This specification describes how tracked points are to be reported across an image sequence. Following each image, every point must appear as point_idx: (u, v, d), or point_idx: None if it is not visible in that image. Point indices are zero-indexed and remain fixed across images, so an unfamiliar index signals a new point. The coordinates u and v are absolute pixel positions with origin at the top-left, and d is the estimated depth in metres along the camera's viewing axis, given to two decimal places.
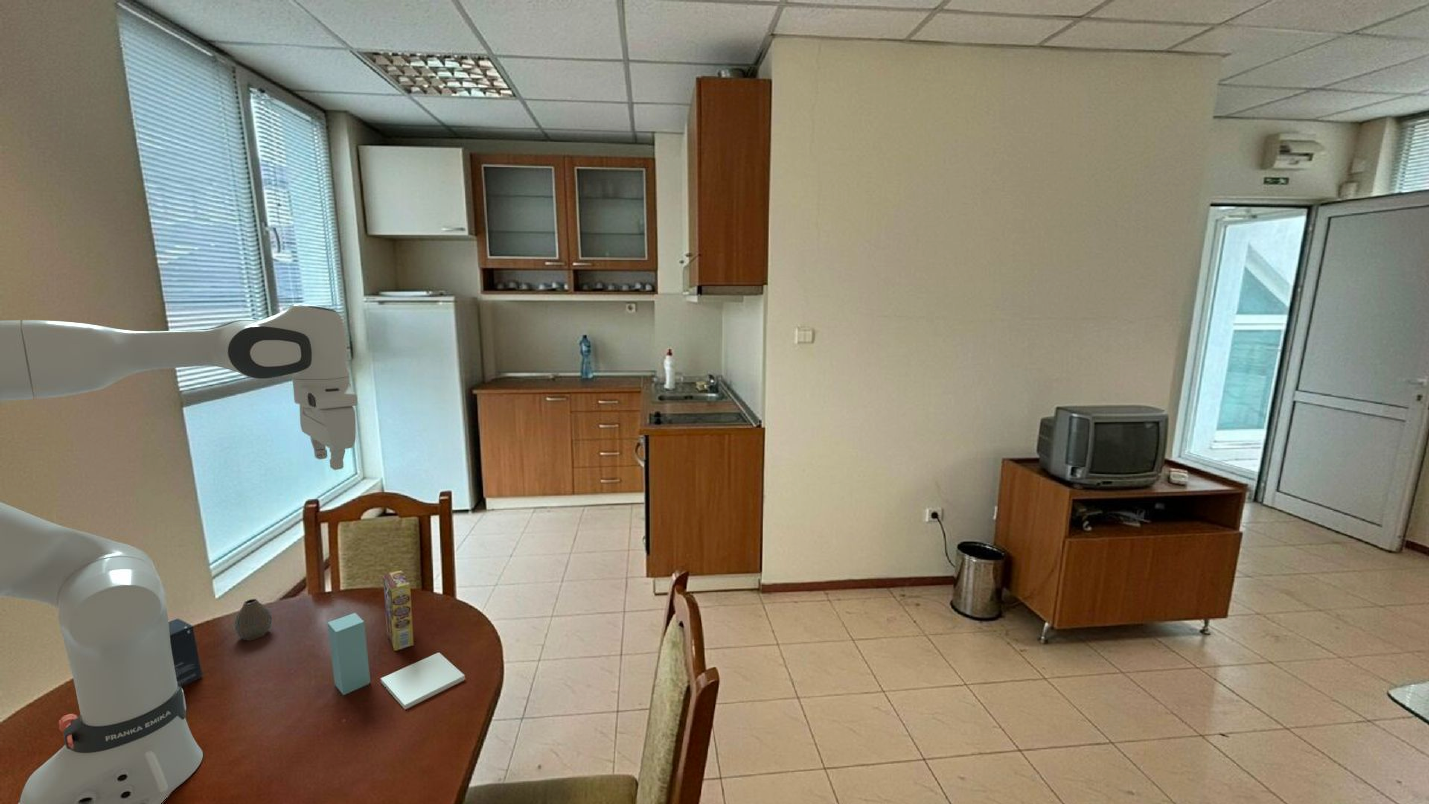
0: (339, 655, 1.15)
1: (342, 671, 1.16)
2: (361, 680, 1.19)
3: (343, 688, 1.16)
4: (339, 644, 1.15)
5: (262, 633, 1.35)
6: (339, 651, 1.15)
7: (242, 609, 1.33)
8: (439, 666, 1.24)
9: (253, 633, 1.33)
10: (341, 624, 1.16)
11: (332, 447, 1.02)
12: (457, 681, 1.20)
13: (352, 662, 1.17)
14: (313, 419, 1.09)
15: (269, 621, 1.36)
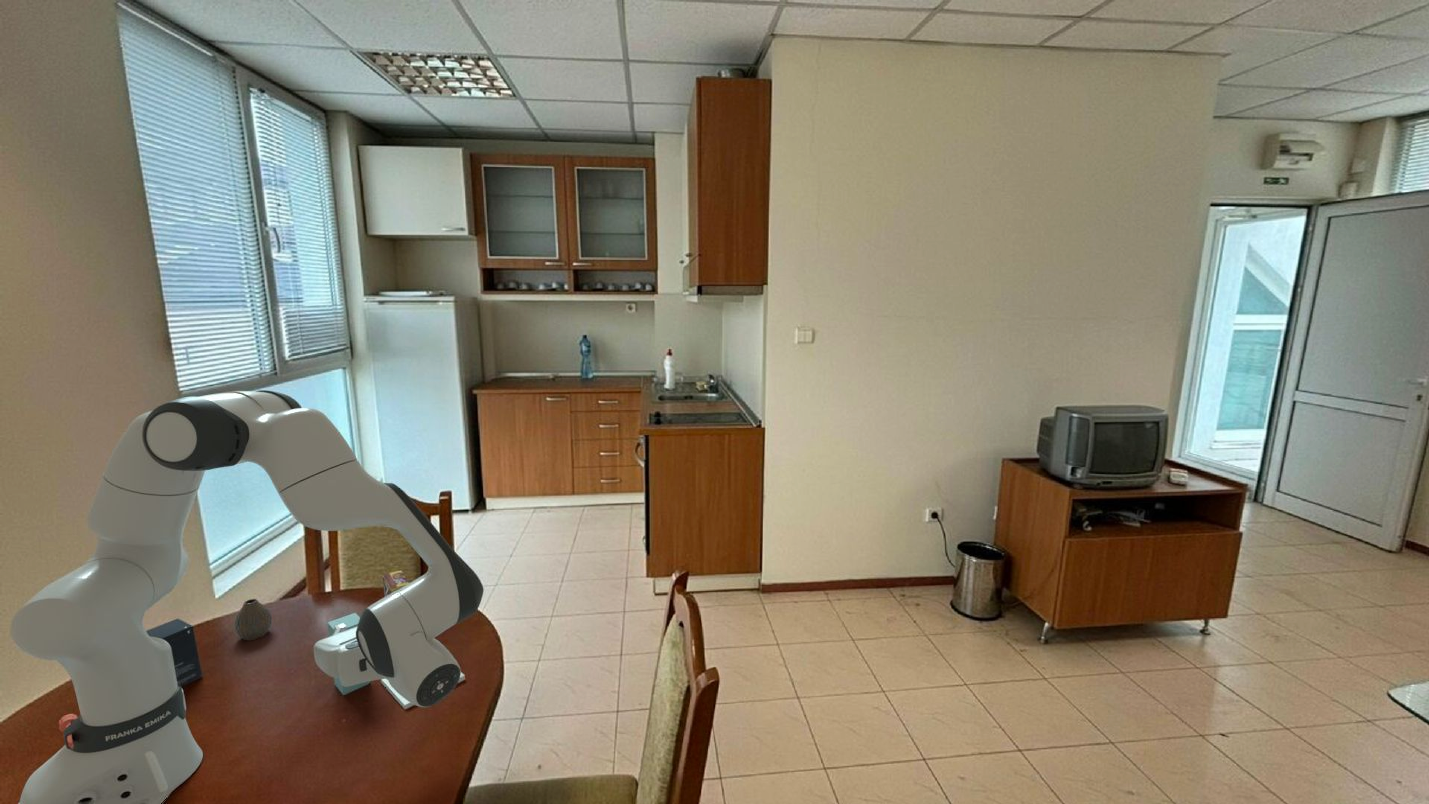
0: None
1: None
2: None
3: (343, 688, 1.16)
4: None
5: (262, 633, 1.35)
6: None
7: (242, 609, 1.33)
8: None
9: (253, 633, 1.33)
10: None
11: (316, 643, 0.97)
12: None
13: None
14: None
15: (269, 621, 1.36)
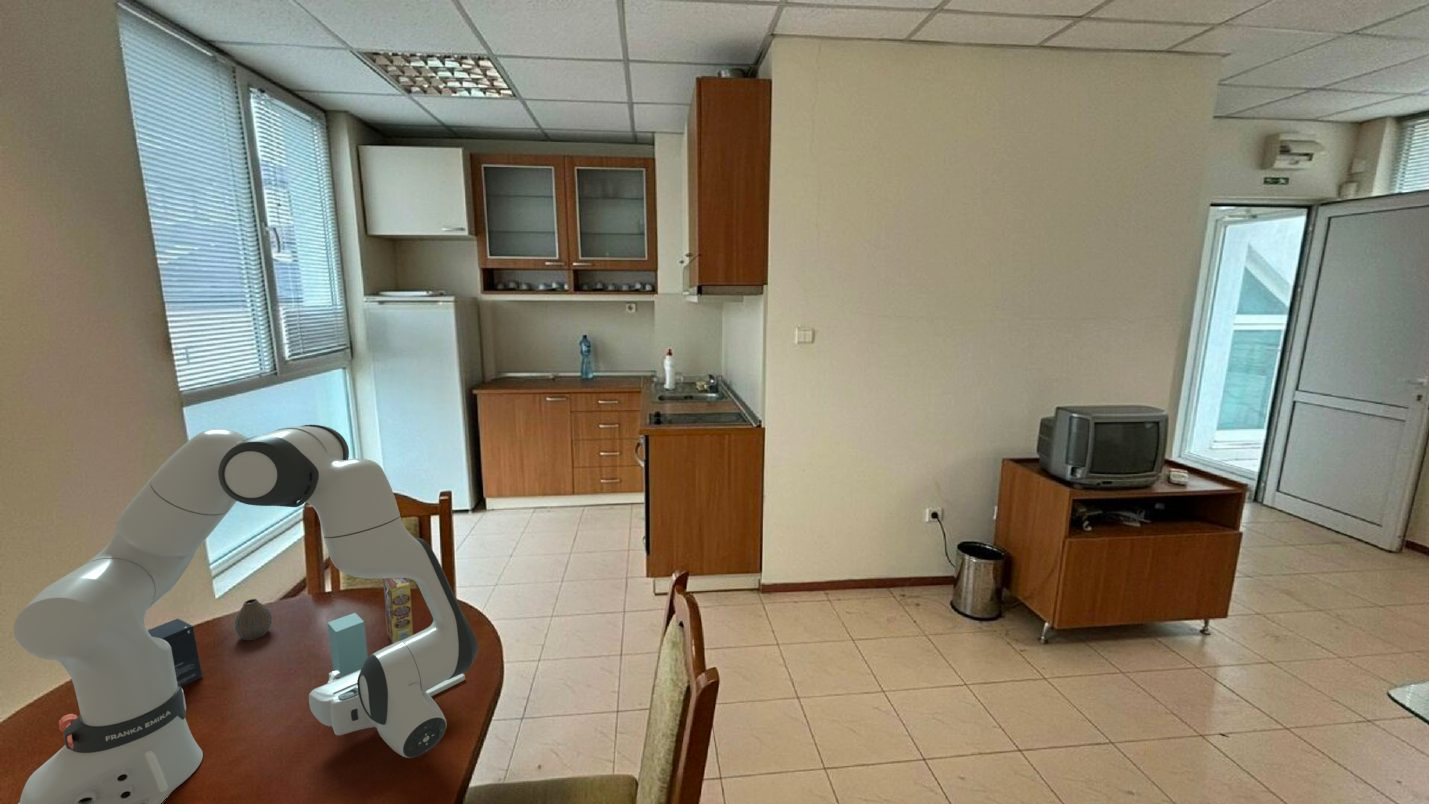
0: (339, 655, 1.15)
1: (342, 671, 1.16)
2: None
3: None
4: (339, 644, 1.15)
5: (262, 633, 1.35)
6: (339, 651, 1.15)
7: (242, 609, 1.33)
8: None
9: (253, 633, 1.33)
10: (341, 624, 1.16)
11: (311, 691, 1.03)
12: (457, 681, 1.20)
13: (352, 662, 1.17)
14: None
15: (269, 621, 1.36)
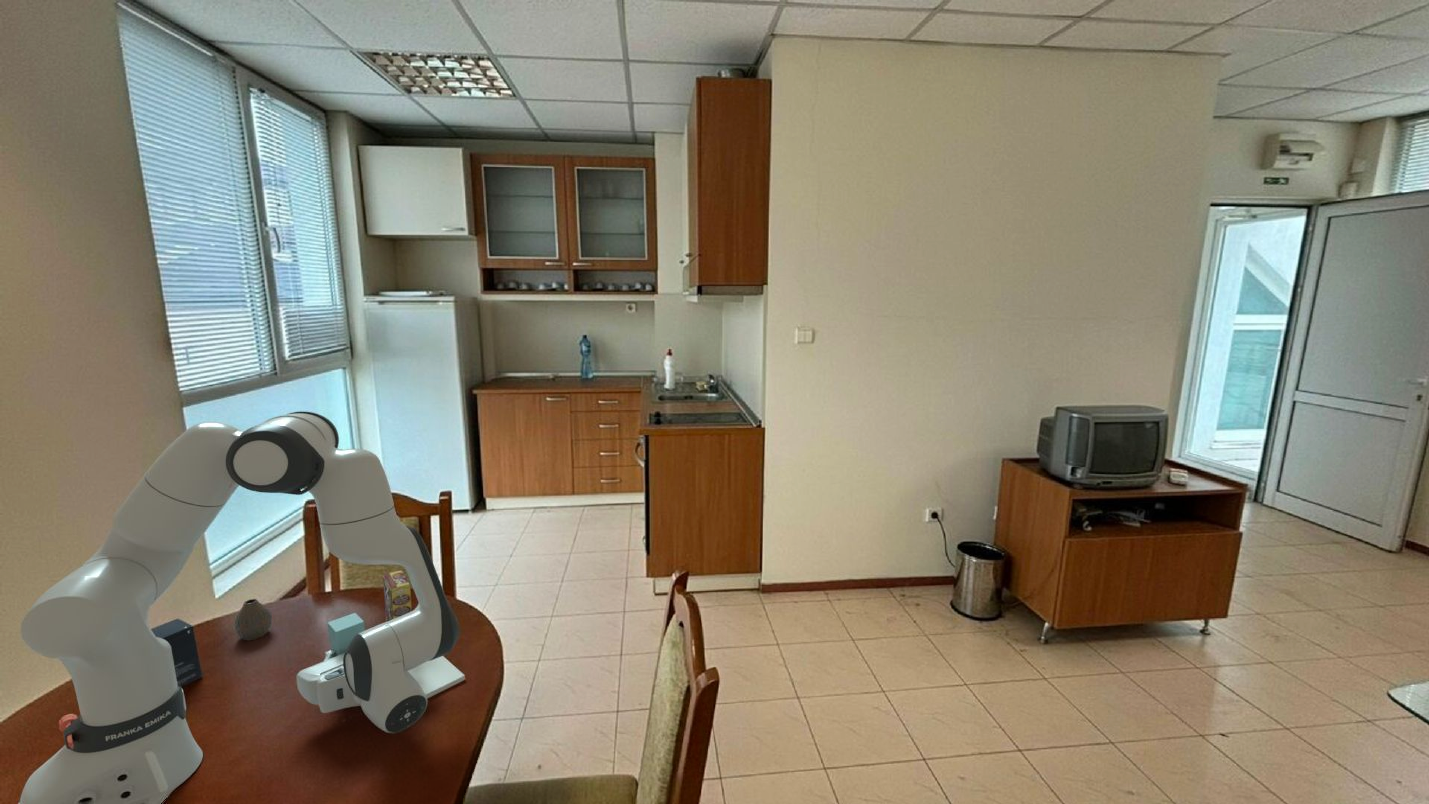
0: None
1: None
2: None
3: None
4: (339, 644, 1.15)
5: (262, 633, 1.35)
6: (339, 651, 1.15)
7: (242, 609, 1.33)
8: (439, 666, 1.24)
9: (253, 633, 1.33)
10: (341, 624, 1.16)
11: (299, 672, 1.08)
12: (457, 681, 1.20)
13: None
14: None
15: (269, 621, 1.36)
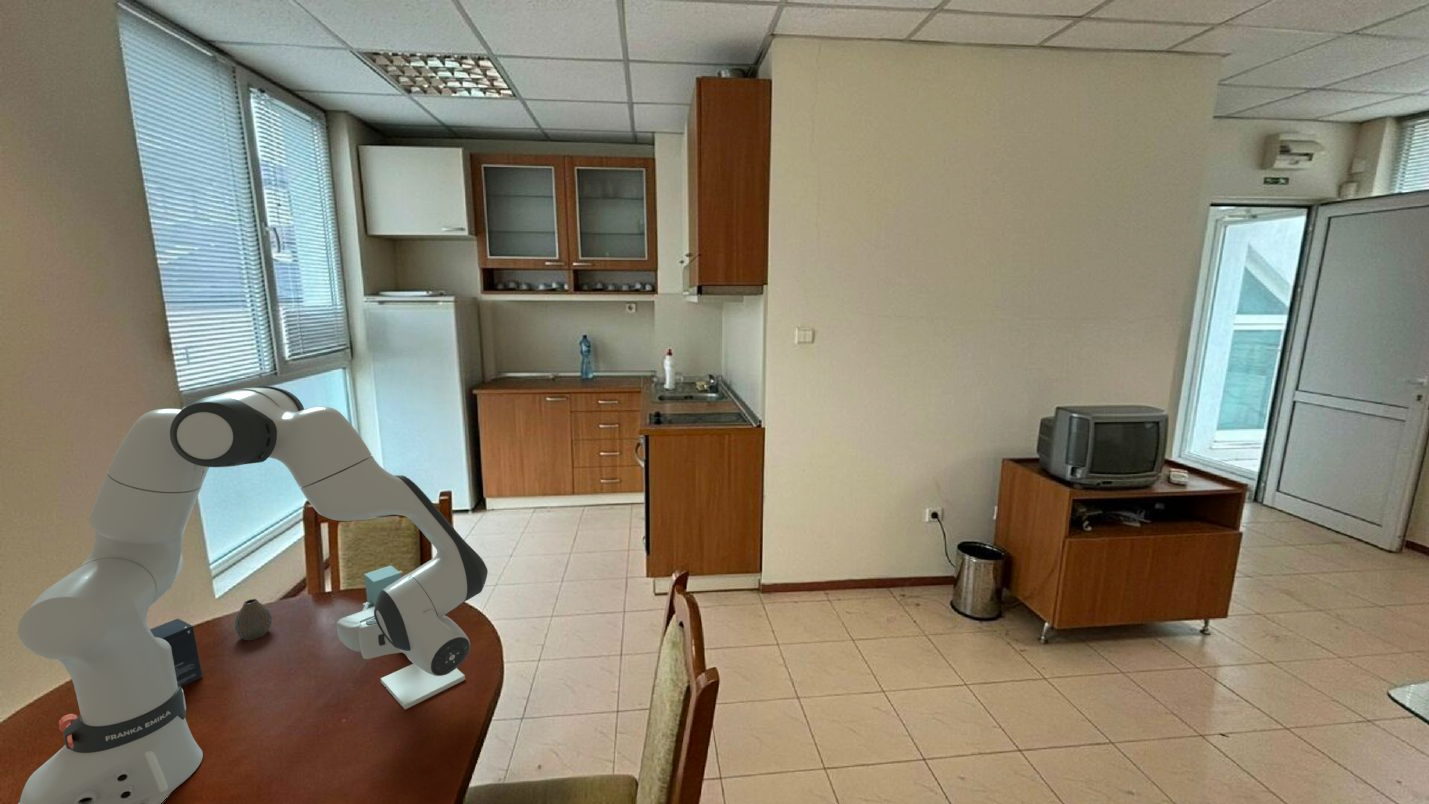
0: None
1: None
2: None
3: None
4: (377, 594, 1.14)
5: (262, 633, 1.35)
6: None
7: (242, 609, 1.33)
8: None
9: (253, 633, 1.33)
10: (378, 575, 1.15)
11: None
12: (457, 681, 1.20)
13: None
14: None
15: (269, 621, 1.36)
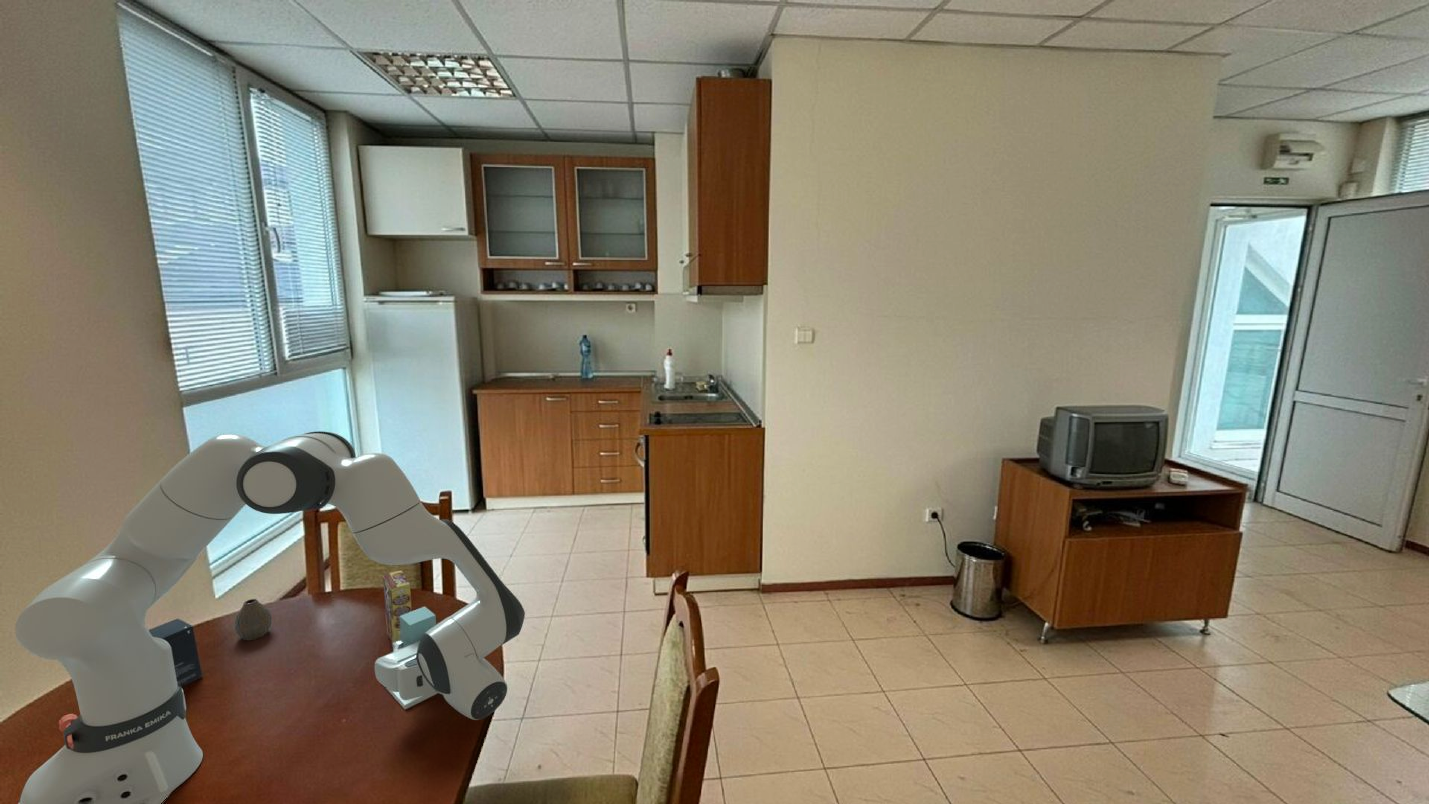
0: None
1: None
2: None
3: None
4: (413, 637, 1.16)
5: (262, 633, 1.35)
6: None
7: (242, 609, 1.33)
8: None
9: (253, 633, 1.33)
10: (413, 618, 1.17)
11: (376, 660, 1.09)
12: None
13: None
14: None
15: (269, 621, 1.36)
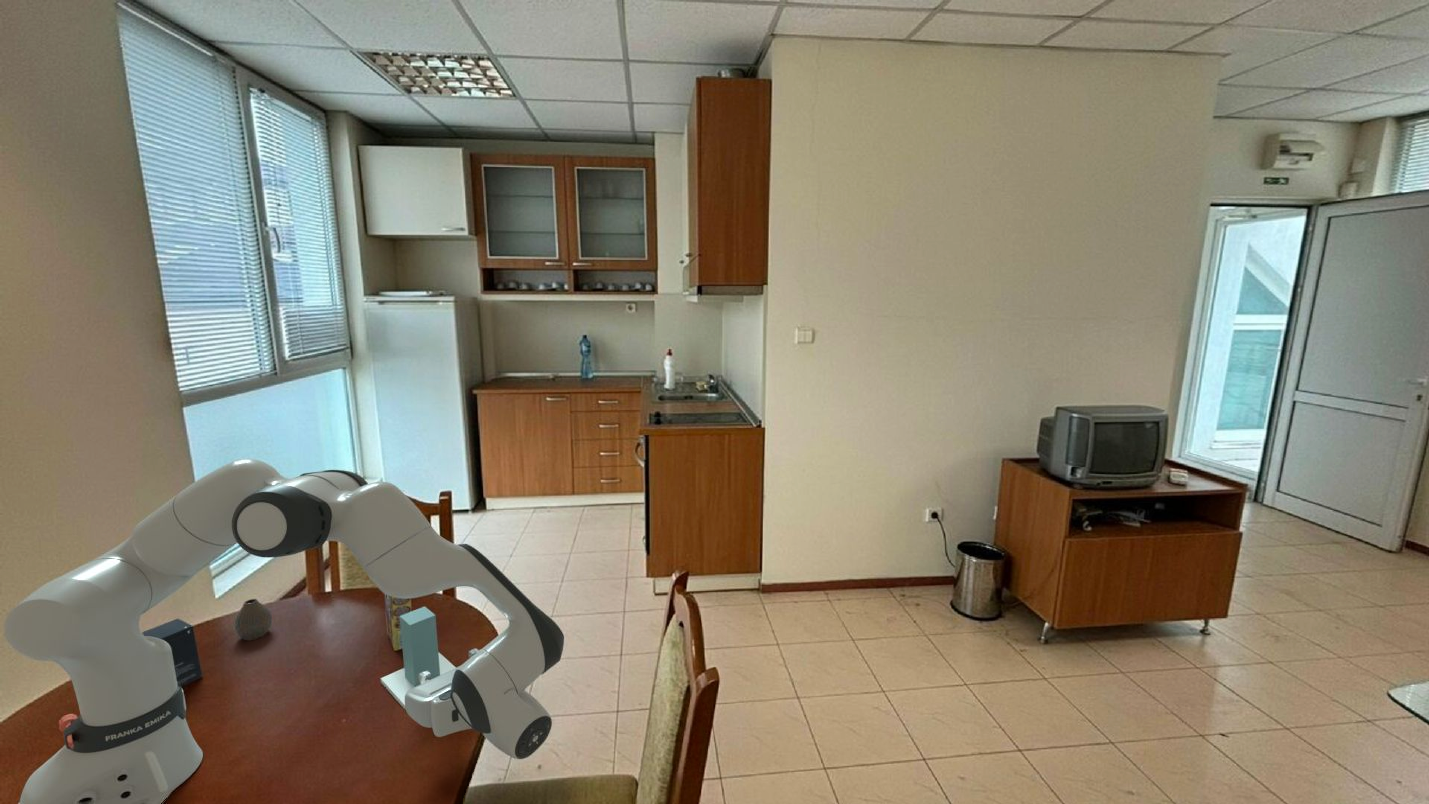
0: (412, 648, 1.16)
1: (415, 664, 1.17)
2: (431, 674, 1.20)
3: (415, 681, 1.17)
4: (413, 637, 1.16)
5: (262, 633, 1.35)
6: (412, 644, 1.16)
7: (242, 609, 1.33)
8: (439, 666, 1.24)
9: (253, 633, 1.33)
10: (413, 618, 1.17)
11: (407, 692, 1.00)
12: None
13: (424, 655, 1.18)
14: None
15: (269, 621, 1.36)
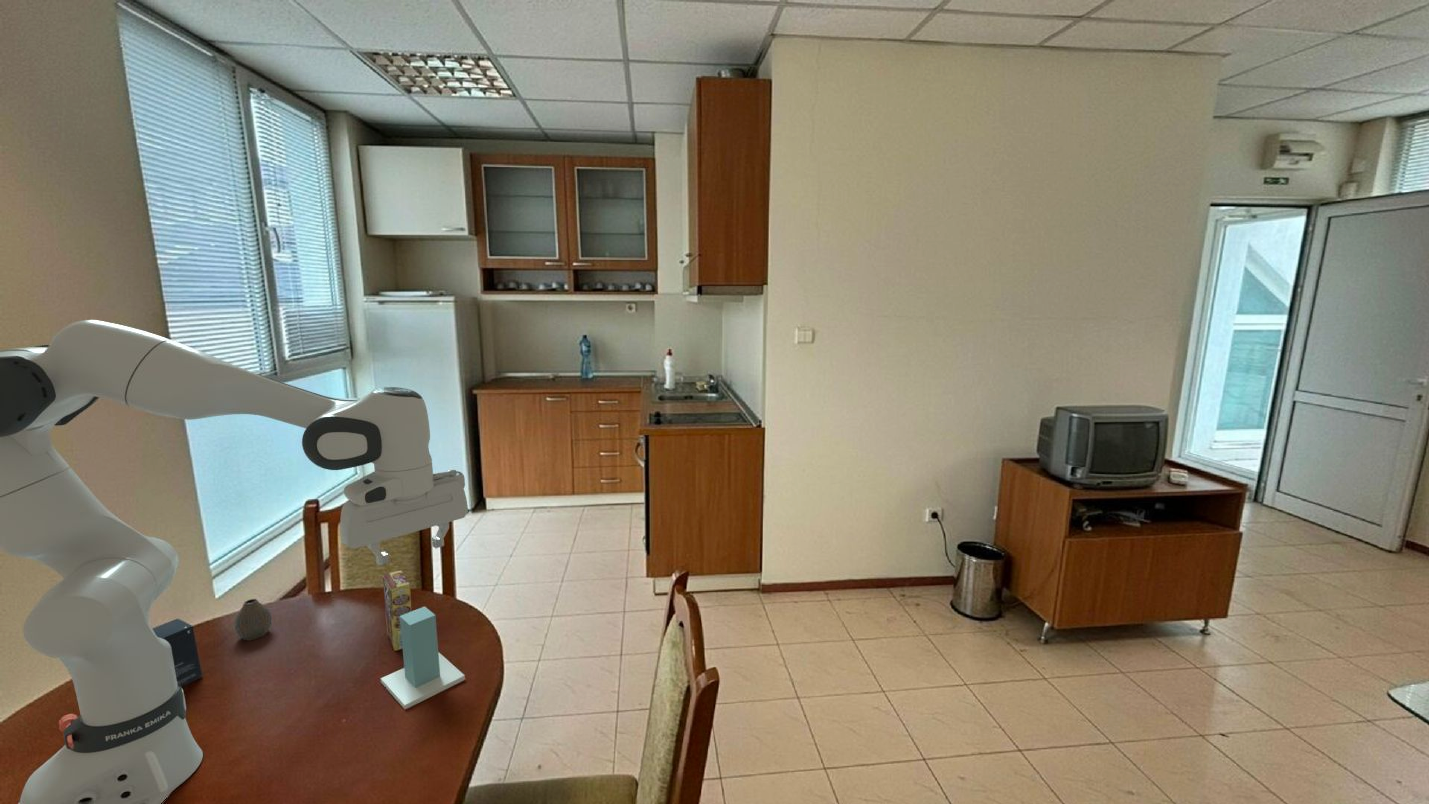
0: (412, 648, 1.16)
1: (415, 664, 1.17)
2: (431, 674, 1.20)
3: (415, 681, 1.17)
4: (413, 637, 1.16)
5: (262, 633, 1.35)
6: (412, 644, 1.16)
7: (242, 609, 1.33)
8: (439, 666, 1.24)
9: (253, 633, 1.33)
10: (413, 618, 1.17)
11: None
12: (457, 681, 1.20)
13: (424, 655, 1.18)
14: None
15: (269, 621, 1.36)
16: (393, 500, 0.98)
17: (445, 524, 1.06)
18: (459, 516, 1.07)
